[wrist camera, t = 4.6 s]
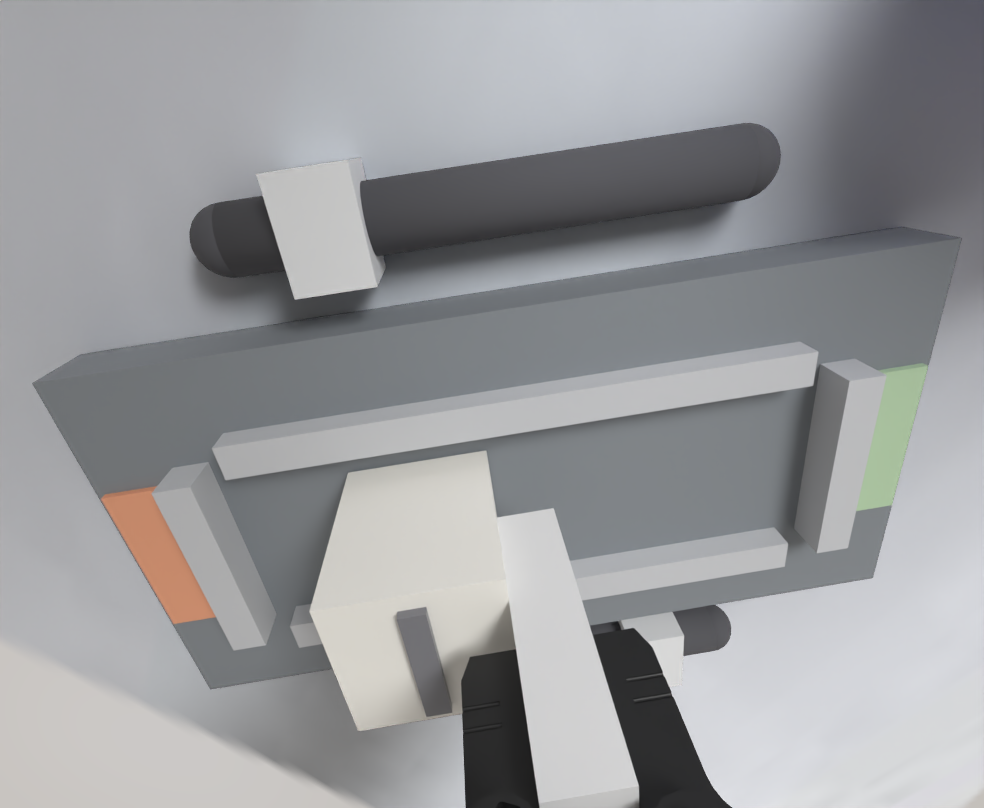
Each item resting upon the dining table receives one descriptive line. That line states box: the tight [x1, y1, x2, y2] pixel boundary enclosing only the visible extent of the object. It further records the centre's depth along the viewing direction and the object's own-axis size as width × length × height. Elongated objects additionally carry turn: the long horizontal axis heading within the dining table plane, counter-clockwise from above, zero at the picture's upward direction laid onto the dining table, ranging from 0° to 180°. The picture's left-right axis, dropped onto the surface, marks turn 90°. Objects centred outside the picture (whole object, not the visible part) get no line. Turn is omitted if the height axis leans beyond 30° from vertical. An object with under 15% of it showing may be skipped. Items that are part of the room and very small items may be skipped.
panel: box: [32, 227, 962, 689], centre depth 17 cm, size 12×24×3 cm, turn 98°
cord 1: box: [190, 123, 781, 300], centre depth 13 cm, size 3×15×2 cm, turn 98°
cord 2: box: [590, 605, 731, 687], centre depth 21 cm, size 3×15×2 cm, turn 98°
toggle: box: [309, 450, 516, 731], centre depth 14 cm, size 4×4×5 cm
